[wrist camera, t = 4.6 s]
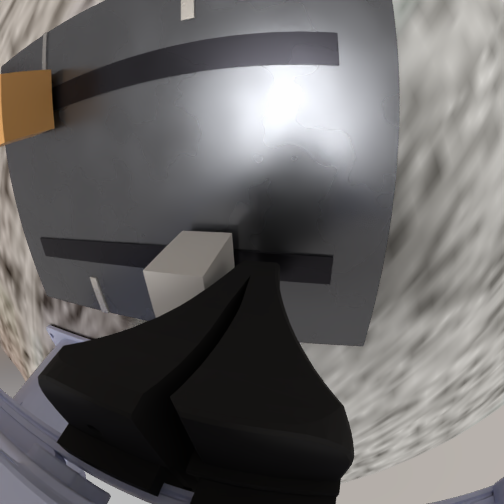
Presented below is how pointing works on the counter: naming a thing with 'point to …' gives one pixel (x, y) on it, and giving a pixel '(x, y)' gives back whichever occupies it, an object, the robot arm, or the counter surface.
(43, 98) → the orange fader
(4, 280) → the counter surface
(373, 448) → the counter surface
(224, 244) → the white fader
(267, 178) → the console board
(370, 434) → the counter surface
